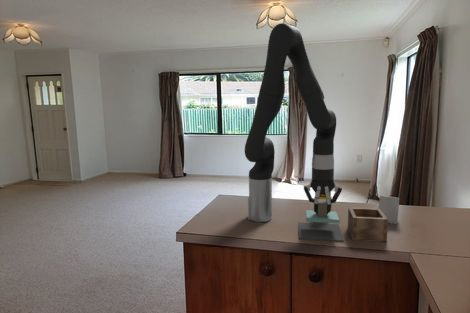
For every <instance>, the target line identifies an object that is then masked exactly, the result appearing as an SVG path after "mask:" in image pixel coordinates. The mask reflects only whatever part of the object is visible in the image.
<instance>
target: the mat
mask: <svg viewBox="0 0 470 313" xmlns="http://www.w3.org/2000/svg"><path fill="white" fill-rule="evenodd" d="M343 236H344V235H343V233H342V230H341V227H340V223H324V222H304V221H303V222H301V221H299V222H298V240H304V239H309V241H321V240H324V241H325V242H326V241H327V242H337V241H343V242H342V243H344V242H345V239H344V237H343Z"/></svg>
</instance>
